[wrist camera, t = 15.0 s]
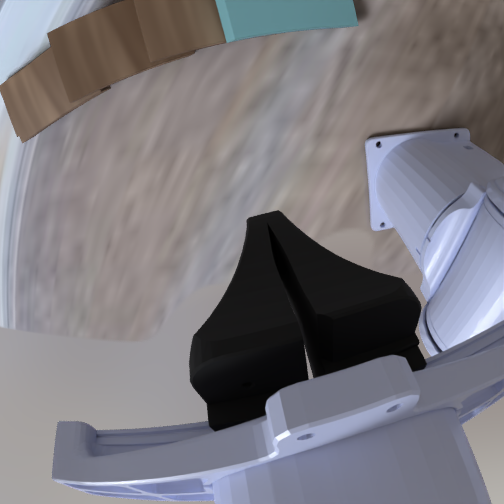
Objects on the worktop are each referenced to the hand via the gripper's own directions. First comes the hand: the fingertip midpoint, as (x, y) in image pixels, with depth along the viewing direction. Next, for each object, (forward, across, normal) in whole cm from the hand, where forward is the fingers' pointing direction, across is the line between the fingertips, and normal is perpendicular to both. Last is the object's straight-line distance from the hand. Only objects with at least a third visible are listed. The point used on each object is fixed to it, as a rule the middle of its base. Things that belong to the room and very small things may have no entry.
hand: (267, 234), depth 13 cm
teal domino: (+9, -9, -10) cm, 16 cm away
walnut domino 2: (+11, +2, -10) cm, 15 cm away
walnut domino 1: (+11, +8, -9) cm, 16 cm away
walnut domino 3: (+10, -4, -10) cm, 15 cm away
